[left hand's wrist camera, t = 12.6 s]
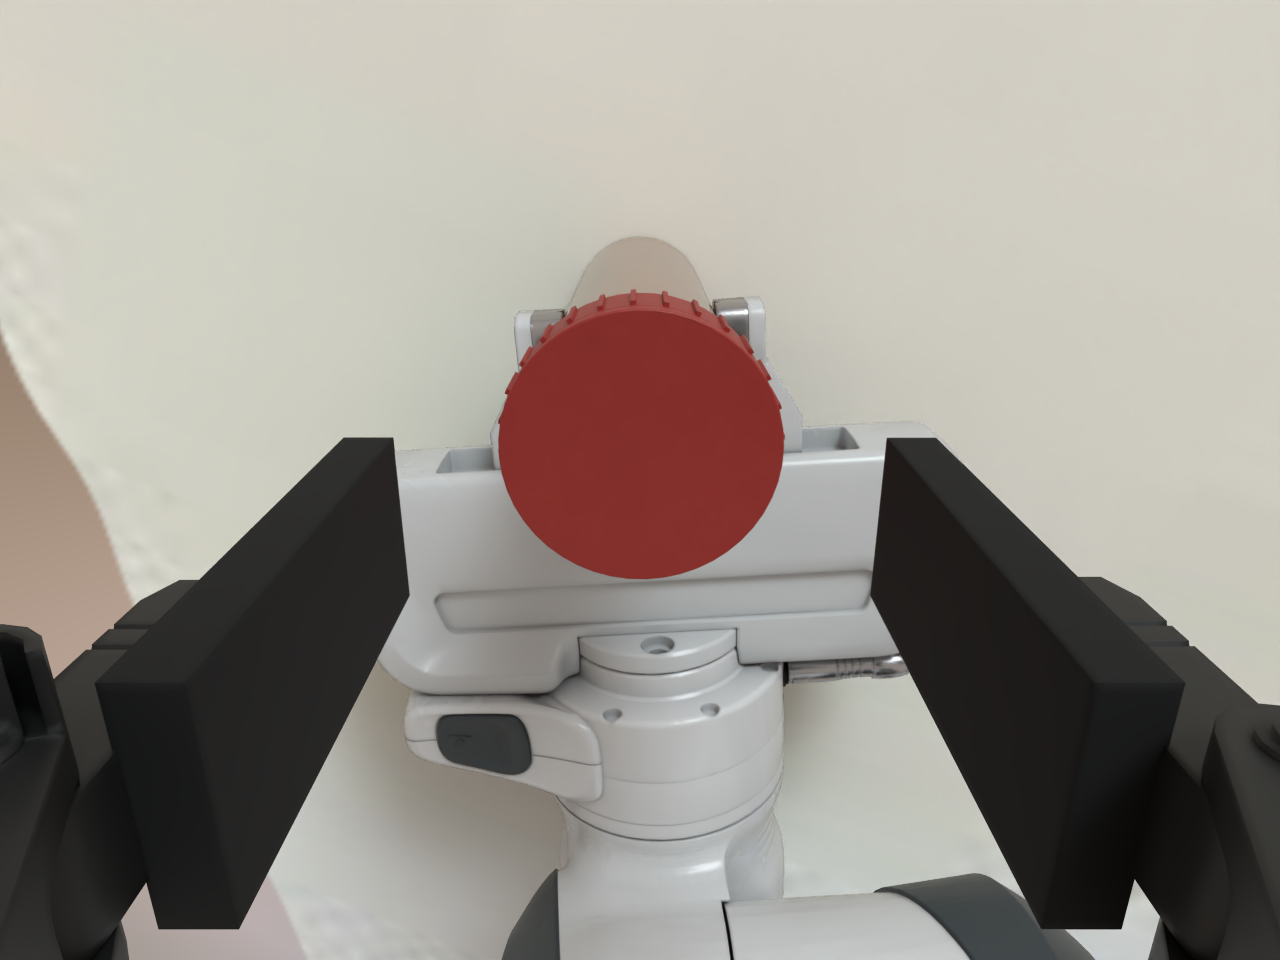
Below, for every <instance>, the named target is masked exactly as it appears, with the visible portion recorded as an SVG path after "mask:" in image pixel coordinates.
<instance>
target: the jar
mask: <svg viewBox="0 0 1280 960" xmlns="http://www.w3.org/2000/svg"><path fill="white" fill-rule="evenodd" d="M631 289H636V293H656V294H662V291H667V292H668V296H673V297H676V298H680V299H683V300H686V301H689V302H692V300H693V299H694V300H696V301H698V304H699V306H700V307H702V308H705V309H706V310H708V311H709V312H711V313H713V314H714V315H715V313H714V310H713V308H712V306H711V304H710V302H709V299H708V297H707V295H706V293H705V291H704V288H703V286H702V284H701V282H700V280H699V277H698V275H697V273H696V271H695V269H694V267H693V266H692V264H691V263H690V261H689V260H688V259H687V258H686V257H685V256H684V255H683V254H682V253H681V252H680V251H679V250H678V249H676V248H675V247H673V246H672V245H670V244H668V243H666V242H664V241H661V240H658V239H654V238H648V237H632V238H626V239H622V240H619V241H617V242H614V243H612V244H611V245H609V246H607V247H605V248H604V249H603V250H601V251H600V252H599V253H598V254H597V255H596V256H595V257H594V258H593V259H592V261H591V262H590V263H589V264H588V266H587V268H586V270H585V271H584V273H583V276H582V278H581V280H580V283H579V285H578V287H577V290H576V292H575V294H574V296H573V299H572V301H571V303H570V306H569V308H568V310H567V312H566V315H568V314H569V312H570V309H571V308H572V307H574V306H576V307H577V309H578V308H580V307H582V306H584V305H586V304H588V303H591V302H594V301H596V300H599V296H600V295H603V294H605V296H606V297H610V296H614V295H618V294H628V293H631ZM566 315H565V316H566Z"/></svg>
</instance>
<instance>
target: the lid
mask: <svg viewBox="0 0 1280 960" xmlns="http://www.w3.org/2000/svg"><path fill="white" fill-rule="evenodd" d="M753 353H754V351H753V349H752V347H751V345H750V344H749V342H748V340H747V338H746V337H745V336H744V335H742V336H741V337H740V336H739V335H738V334H737V333H736V332H735V331H734V330H733V329H732V328H731V327H730V326H729V325H728V323H727V321H726V319H725V317H724V316H723V315H721V314H720V315H719V316H718V317H717V316H716V315H714V314H713V313H711V312H709V311H708V310H706V309H705V308H702V307H700V306H699V304H698V301H696V300H694V299H693V300H692V302H689V301H686V300H683V299H680V298H676V297H673V296H668V292H667V291H662V294H656V293H636V289H631V293H628V294H618V295H614V296H610V297H606V296H605V294H603V295H600V296H599V300H596V301H594V302H591V303H588V304H586V305H584V306H582V307H580V308H578V309H577V307H576V306H574V307H572V308H571V309H570V312H569V314H568V315H566V316H565V317H564V318H562V319H561V320H559V321H558V322H557V323H555V324H554V325H553V326H552V325H551V324H549V325H547V327H546V328H545V330H544V332H543V334H542V336H541V338H540V340H539V341H538V342H537V344H536V345H535V346H534V347H533V348H532V347H531V346H529V348H528V349H527V351H526V353H525V354H524V356H523V358H522V360H521V362H520V363H519V366H521V367H522V368H521V370H520V372H519V373H516V372H515V374H514V376H513V378H512V380H511V381H510V383H509V385H508V387H507V389H506V391H505V394H507V395H508V396H507V399H506V401H505V404H504V408H503V411H502V413H501V415H500V417H499V419H498V424H500V427H499V436H498V454H499V461H500V467H501V473H502V477H503V480H504V483H505V486H506V489H507V492H508V494H509V496H510V498H511V501H512V503H513V505H514V507H515V508H516V510H517V512H518V513H519V515H520V516H521V518H522V519H523V521H524V522H525V523H526V525H527V526H528V527H529V528H530V529H531V531H532V532H533V533H534V534H535V535H536V536H537V537H538V538H539V539H540V540H541V541H542V542H543V543H544V544H546V545H547V546H548V547H549V548H550V549H552V550H553V551H555V552H556V553H557V554H559V555H560V556H562V557H563V558H565V559H567V560H569V561H571V562H572V563H574V564H576V565H578V566H580V567H583V568H585V569H588V570H590V571H593V572H596V573H600V574H604V575H607V576H611V577H618V578H625V579H656V578H665V577H670V576H674V575H679V574H683V573H686V572H689V571H692V570H695V569H697V568H700V567H702V566H704V565H706V564H708V563H710V562H712V561H714V560H715V559H717V558H719V557H720V556H722V555H723V554H725V553H726V552H728V551H729V550H730V549H732V548H733V547H734V546H735V545H736V544H738V543H739V542H740V541H741V540H742V539H743V538H744V537H745V536H746V535H747V534H748V533H749V532H750V531H751V530H752V529H753V528H754V526H755V525H756V524H757V522H758V521H759V519H760V518H761V517H762V515H763V514H764V512H765V510H766V509H767V507H768V505H769V503H770V501H771V499H772V497H773V495H774V492H775V490H776V487H777V484H778V482H779V478H780V473H781V469H782V465H783V455H784V440H785V434H784V431H783V424H782V419H781V413H780V409H782V407H781V404H780V402H779V400H778V398H777V396H776V395H775V393H774V391H773V389H772V387H771V386H770V384H769V382H768V381H769V380H771V377H770V375H769V373H768V371H767V370H766V368H765V366H764V364H763V363H762V361H761V359H759V360H758V361H757V360H756V358H755V356H754V355H753Z"/></svg>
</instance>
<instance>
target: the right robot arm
mask: <svg viewBox="0 0 1280 960" xmlns="http://www.w3.org/2000/svg"><path fill="white" fill-rule="evenodd" d="M712 308H713V310H714V313H715V315H716V316H717V317H718V316H719V315H720V314H721V315H723V316H724V317H725V319H726V321H727V323H728V325H729V326H730V327H731V328H732V329H733V330H734V331H735V332H736V333H737V334H738V335H739V336H740V337H741V336H742V335H744V336H745V337H746V338H747V340H748V342H749V344H750V345H751V347H752V349H753V351H754V353H753V355H754V356H755V358H756V360H757V361H758V360H759V359H761V361H762V363H763V364H764V366H765V368H766V370H767V371H768V373H769V375H770V377H771V380H769V381H768V382H769V384H770V386H771V387H772V389H773V391H774V393H775V395H776V396H777V398H778V400H779V402H780V404H781V407H782V409H780V413H781V419H782V424H783V431H784V434H785V440H784V455H783V465H782V469H781V473H780V478H779V482H778V484H777V487H776V490H775V492H774V495H773V497H772V499H771V501H770V503H769V505H768V507H767V509H766V510H765V512H764V514H763V515H762V517H761V518H760V519H759V521H758V522H757V524H756V525H755V526H754V528H753V529H752V530H751V531H750V532H749V533H748V534H747V535H746V536H745V537H744V538H743V539H742V540H741V541H740V542H739V543H738V544H736V545H735V546H734V547H733V548H732V549H730V550H729V551H728V552H726V553H725V554H723V555H722V556H720V557H719V558H717V559H715V560H714V561H712V562H710V563H708V564H706V565H704V566H702V567H700V568H697V569H695V570H692V571H689V572H686V573H683V574H679V575H674V576H670V577H665V578H656V579H625V578H618V577H611V576H607V575H604V574H600V573H596V572H593V571H590V570H588V569H585V568H583V567H580V566H578V565H576V564H574V563H572V562H571V561H569V560H567V559H565V558H563V557H562V556H560V555H559V554H557V553H556V552H555V551H553V550H552V549H550V548H549V547H548V546H547V545H546V544H544V543H543V542H542V541H541V540H540V539H539V538H538V537H537V536H536V535H535V534H534V533H533V532H532V531H531V529H530V528H529V527H528V526H527V525H526V523H525V522H524V521H523V519H522V518H521V516H520V515H519V513H518V512H517V510H516V508H515V507H514V505H513V503H512V501H511V498H510V496H509V494H508V492H507V489H506V486H505V483H504V480H503V477H502V473H501V467H500V461H499V454H498V436H499V427H500V424H498V419H499V417H500V415H501V413H502V411H503V408H504V404H505V402H504V404H503V406H502V408H501V411H500V413H499V415H498V417H497V419H496V422H495V424H494V426H493V428H492V430H491V433H490V437H491V445H485V446H468V447H451V448H434V449H418V450H400V451H395V459H396V468H397V478H398V487H399V497H400V506H401V516H402V525H403V535H404V544H405V554H406V563H407V573H408V582H409V592H410V596H409V598H408V600H407V602H406V604H405V606H404V608H403V610H402V612H401V614H400V616H399V618H398V620H397V622H396V624H395V626H394V628H393V629H392V631H391V633H390V635H389V637H388V639H387V641H386V643H385V645H384V647H383V649H382V651H381V653H380V655H379V657H378V659H377V662H378V663H379V664H380V666H381V667H382V668H383V669H384V671H385V672H386V673H387V674H388V675H389V676H390V677H392V678H393V679H394V680H395V681H397V682H398V683H400V684H401V685H403V686H405V687H407V688H409V689H411V690H410V693H409V697H408V701H407V706H406V711H405V716H404V734H405V740H406V743H407V746H408V748H409V750H410V751H411V752H412V753H413V754H414V755H415V756H416V757H418V758H420V759H422V760H425V761H427V762H431V763H435V764H439V765H444V766H449V767H454V768H459V769H463V770H468V771H473V772H477V773H482V774H486V775H490V776H495V777H499V778H503V779H507V780H510V781H514V782H518V783H521V784H525V785H528V786H531V787H534V788H538V789H541V790H543V791H546V792H549V793H552V794H554V795H555V798H556V800H557V802H558V804H559V807H560V809H561V811H562V814H563V817H564V821H565V826H564V830H563V834H562V838H561V843H560V852H559V854H560V870H557V869H555V870H554V871H553V872H552V873H551V874H550V875H549V876H548V877H547V879H546V880H545V881H544V882H543V883H542V885H541V886H540V887H539V889H538V890H537V892H536V893H535V895H534V896H533V898H532V899H531V901H530V903H529V904H528V906H527V907H526V909H525V911H524V912H523V914H522V916H521V917H520V919H519V920H518V922H517V924H516V925H515V927H514V929H513V930H512V932H511V934H510V936H509V939H508V942H507V945H506V948H505V950H504V954H503V957H502V960H1095V959H1094V958H1093V957H1092V955H1091V954H1090V953H1089V952H1088V951H1087V950H1086V949H1085V948H1084V947H1083V946H1082V945H1081V944H1080V943H1079V942H1078V941H1077V940H1076V939H1075V938H1073V937H1072V936H1071V935H1070V934H1069V933H1068V932H1067V931H1066V930H1065V929H1041V928H1040V926H1039V924H1038V922H1037V920H1036V918H1035V916H1034V914H1033V913H1032V911H1031V909H1030V907H1029V905H1028V903H1027V901H1026V900H1025V899H1024V898H1022V897H1021V896H1019V895H1018V894H1016V893H1015V892H1013V891H1011V890H1010V889H1008V888H1007V887H1005V886H1003V885H1002V884H1000V883H998V882H997V881H995V880H994V879H992V878H990V877H988V876H986V875H982V874H977V873H973V874H966V875H960V876H953V877H947V878H941V879H934V880H928V881H921V882H915V883H909V884H902V885H896V886H889V887H883V888H880V889H878V890H876V891H874V892H873V893H864V894H846V895H829V896H812V897H795V898H783V891H784V848H783V840H782V835H781V831H780V828H779V824H778V822H777V819H776V817H775V814H774V809H773V808H774V804H775V801H776V799H777V797H778V794H779V790H780V787H781V783H782V778H783V767H784V697H783V686H786V684H794V683H813V682H828V681H836V679H837V680H841V679H844V678H845V679H846V678H851V677H852V678H855V677H871V678H874V679H888V678H895V677H900V676H904V675H907V674H908V673H909V670H908V669H907V667H906V665H905V663H904V661H903V659H902V657H901V655H900V653H899V651H898V649H897V647H896V645H895V643H894V641H893V639H892V637H891V635H890V633H889V631H888V629H887V628H886V626H885V624H884V622H883V620H882V618H881V616H880V614H879V612H878V610H877V608H876V606H875V604H874V602H873V600H872V598H871V596H870V592H871V582H872V573H873V563H874V554H875V544H876V535H877V525H878V516H879V506H880V497H881V487H882V478H883V468H884V459H885V449H886V440H887V438H937V439H938V440H939V441H940V442H941V443H942V444H943V445H944V446H945V447H946V448H947V449H948V450H949V451H950V452H951V453H952V454H953V455H954V456H955V457H956V458H957V459H958V460H959V461H960V462H961V460H960V459H959V457H958V456H957V455H956V454H955V452H954V451H953V450H952V449H951V448H950V446H949V445H948V444H947V443H946V442H945V441H944V440H943V439H942V438H940V437H939V436H938V435H937V434H936V433H934V432H933V431H932V430H931V429H930V428H928V427H927V426H926V425H924V424H923V423H921V422H918V421H894V422H877V423H860V424H843V425H826V426H809V427H802V414H801V413H800V411H799V409H798V408H797V406H796V404H795V403H794V401H793V399H792V398H791V396H790V394H789V393H788V391H787V389H786V388H785V386H784V385H783V383H782V381H781V380H780V378H779V376H778V375H777V373H776V372H775V370H774V368H773V367H772V365H771V363H770V362H769V360H768V359H767V357H766V341H765V310H764V303H763V301H762V300H761V298H760V297H759V296H755V297H739V298H726V299H714V300H713V303H712ZM565 315H566V312H565V309H550V310H528V311H519V312H518V313H517V315H516V316H515V321H514V334H515V343H516V352H517V361H518V370H519V372H520V370H521V368H522V367H521V366H519V363H520V362H521V360H522V358H523V356H524V354H525V353H526V351H527V349H528V348H529V346H531V347H532V348H533V347H534V346H535V345H536V344H537V342H538V341H539V340H540V338H541V336H542V334H543V332H544V330H545V328H546V327H547V325H549V324H551V325H552V326H553V325H554V324H555V323H557V322H558V321H559V320H561V319H562V318H564V317H565ZM519 372H518V373H519ZM507 396H508V395H507ZM506 399H507V397H506ZM505 401H506V400H505ZM961 463H962V462H961ZM962 464H963V463H962Z"/></svg>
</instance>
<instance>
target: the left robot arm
mask: <svg viewBox="0 0 1280 960" xmlns="http://www.w3.org/2000/svg"><path fill="white" fill-rule="evenodd" d="M409 596H410V592H409V582H408V573H407V563H406V554H405V544H404V535H403V525H402V516H401V506H400V497H399V487H398V478H397V468H396V459H395V449H394V440H393V438H343V439H342V440H341V441H340V442H339V443H338V444H337V445H336V446H335V447H334V448H333V449H332V450H331V451H330V452H329V453H328V454H327V455H326V456H325V457H324V458H323V459H322V460H321V461H320V462H319V463H318V464H316V465H315V466H314V467H313V468H312V469H311V470H310V471H309V472H308V473H307V474H306V475H305V476H304V477H303V478H302V479H301V480H300V481H299V482H298V483H297V484H296V485H295V486H294V487H293V488H292V489H291V490H290V491H289V492H288V493H287V494H286V495H285V496H284V497H283V498H282V499H281V500H280V501H279V502H278V503H277V504H276V505H275V506H274V507H273V508H272V509H271V510H270V511H269V512H268V513H267V514H266V515H265V516H264V517H263V518H262V519H261V520H260V521H259V522H258V523H256V524H255V525H254V526H253V527H252V528H251V529H250V530H249V531H248V532H247V533H246V534H245V535H244V536H243V537H242V538H241V539H240V540H239V541H238V542H237V543H236V544H235V545H234V546H233V547H232V548H231V549H230V550H229V551H228V552H227V553H226V554H225V555H224V556H223V557H222V558H221V559H220V560H219V561H218V562H217V563H216V564H215V565H214V566H213V567H212V568H211V569H210V570H209V571H208V572H207V573H206V574H205V575H204V576H203V577H202V578H201V579H200V580H179V581H177V582H175V583H173V584H171V585H169V586H167V587H165V588H163V589H162V590H160V591H158V592H156V593H154V594H152V595H150V596H148V597H146V598H144V599H142V600H140V601H139V602H138V603H137V604H136V605H135V606H134V607H133V608H132V609H130V610H129V611H128V612H127V613H126V614H125V615H124V616H123V617H122V618H121V619H120V620H118V621H117V622H116V623H115V624H114V629H109V630H107V631H106V632H105V633H104V634H103V635H102V636H101V637H100V638H99V639H97V640H96V641H95V642H94V643H93V644H92V649H91V650H85V651H84V652H83V653H82V654H81V655H80V656H79V657H78V658H77V659H75V660H74V661H73V662H72V663H71V664H70V665H69V666H68V667H67V668H66V669H64V670H63V671H62V672H61V673H60V674H59V675H58V676H57V677H56V678H55V679H53V676H52V672H51V669H50V665H49V661H48V658H47V654H46V651H45V647H44V644H43V640H42V637H41V635H39V634H37V633H36V632H34V631H33V630H31V629H29V628H28V627H21V626H12V625H4V624H0V960H129V955H128V948H127V941H126V937H125V933H124V930H123V926H122V923H121V919H122V918H123V916H124V915H125V913H126V912H127V910H128V909H129V907H130V906H131V904H132V903H133V901H134V900H135V898H136V897H137V895H138V894H139V892H140V891H141V889H142V888H143V886H144V885H145V883H147V887H148V891H149V895H150V898H151V902H152V906H153V910H154V914H155V918H156V921H157V925H158V929H239V928H240V926H241V924H242V922H243V920H244V918H245V916H246V914H247V912H248V911H249V909H250V907H251V905H252V903H253V901H254V899H255V897H256V895H257V893H258V891H259V889H260V887H261V885H262V883H263V881H264V879H265V877H266V875H267V873H268V872H269V870H270V868H271V866H272V864H273V862H274V860H275V858H276V856H277V854H278V852H279V850H280V848H281V846H282V844H283V842H284V840H285V838H286V836H287V834H288V832H289V831H290V829H291V827H292V825H293V823H294V821H295V819H296V817H297V815H298V813H299V811H300V809H301V807H302V805H303V803H304V801H305V799H306V797H307V795H308V793H309V791H310V790H311V788H312V786H313V784H314V782H315V780H316V778H317V776H318V774H319V772H320V770H321V768H322V766H323V764H324V762H325V760H326V758H327V756H328V754H329V752H330V750H331V749H332V747H333V745H334V743H335V741H336V739H337V737H338V735H339V733H340V731H341V729H342V727H343V725H344V723H345V721H346V719H347V717H348V715H349V713H350V711H351V710H352V708H353V706H354V704H355V702H356V700H357V698H358V696H359V694H360V692H361V690H362V688H363V686H364V684H365V682H366V680H367V678H368V676H369V674H370V672H371V670H372V669H373V667H374V665H375V663H376V661H377V659H378V657H379V655H380V653H381V651H382V649H383V647H384V645H385V643H386V641H387V639H388V637H389V635H390V633H391V631H392V629H393V628H394V626H395V624H396V622H397V620H398V618H399V616H400V614H401V612H402V610H403V608H404V606H405V604H406V602H407V600H408V598H409ZM870 596H871V598H872V600H873V602H874V604H875V606H876V608H877V610H878V612H879V614H880V616H881V618H882V620H883V622H884V624H885V626H886V628H887V629H888V631H889V633H890V635H891V637H892V639H893V641H894V643H895V645H896V647H897V649H898V651H899V653H900V655H901V657H902V659H903V661H904V663H905V665H906V667H907V669H908V670H909V672H910V674H911V676H912V678H913V680H914V682H915V684H916V686H917V688H918V690H919V692H920V694H921V696H922V698H923V700H924V702H925V704H926V706H927V708H928V710H929V711H930V713H931V715H932V717H933V719H934V721H935V723H936V725H937V727H938V729H939V731H940V733H941V735H942V737H943V739H944V741H945V743H946V745H947V747H948V749H949V750H950V752H951V754H952V756H953V758H954V760H955V762H956V764H957V766H958V768H959V770H960V772H961V774H962V776H963V778H964V780H965V782H966V784H967V786H968V788H969V790H970V791H971V793H972V795H973V797H974V799H975V801H976V803H977V805H978V807H979V809H980V811H981V813H982V815H983V817H984V819H985V821H986V823H987V825H988V827H989V829H990V831H991V832H992V834H993V836H994V838H995V840H996V842H997V844H998V846H999V848H1000V850H1001V852H1002V854H1003V856H1004V858H1005V860H1006V862H1007V864H1008V866H1009V868H1010V870H1011V872H1012V873H1013V875H1014V877H1015V879H1016V881H1017V883H1018V885H1019V887H1020V889H1021V891H1022V893H1023V895H1024V897H1025V899H1026V901H1027V903H1028V905H1029V907H1030V909H1031V911H1032V913H1033V914H1034V916H1035V918H1036V920H1037V922H1038V924H1039V926H1040V928H1041V929H1122V925H1123V921H1124V918H1125V914H1126V910H1127V906H1128V902H1129V898H1130V894H1131V891H1132V887H1133V883H1134V879H1135V880H1136V882H1137V883H1138V885H1139V886H1140V888H1141V889H1142V891H1143V892H1144V893H1145V895H1146V896H1147V898H1148V899H1149V901H1150V902H1151V904H1152V905H1153V907H1154V908H1155V910H1156V911H1157V913H1158V914H1159V916H1160V919H1159V922H1158V926H1157V930H1156V933H1155V937H1154V940H1153V944H1152V948H1151V951H1150V955H1149V958H1148V960H1280V706H1278V705H1268V704H1258V703H1257V702H1256V701H1255V700H1254V699H1253V698H1251V697H1250V696H1249V695H1248V694H1247V693H1246V692H1245V691H1244V690H1243V689H1241V688H1240V687H1239V686H1238V685H1237V684H1236V683H1235V682H1234V681H1233V680H1231V679H1230V678H1229V677H1228V676H1227V675H1226V674H1225V673H1224V672H1223V671H1221V670H1220V669H1219V668H1218V667H1217V666H1216V665H1215V664H1214V663H1213V662H1212V661H1210V660H1209V659H1208V658H1207V657H1206V656H1205V655H1204V654H1203V653H1202V652H1200V651H1199V650H1198V649H1197V648H1196V647H1195V646H1189V641H1188V640H1187V639H1186V638H1185V637H1184V636H1183V635H1182V634H1180V633H1179V632H1178V631H1177V630H1176V629H1175V628H1174V627H1173V626H1167V621H1166V620H1165V619H1164V618H1163V617H1162V616H1160V615H1159V614H1158V613H1157V612H1156V611H1155V610H1154V609H1153V608H1152V607H1150V606H1149V605H1148V604H1147V603H1146V602H1145V601H1144V600H1143V599H1142V598H1140V597H1139V596H1137V595H1135V594H1133V593H1131V592H1129V591H1127V590H1125V589H1123V588H1121V587H1119V586H1117V585H1115V584H1113V583H1112V582H1110V581H1108V580H1106V579H1104V578H1102V577H1077V576H1076V575H1075V574H1074V573H1073V572H1072V571H1071V570H1070V569H1069V568H1068V567H1067V566H1066V565H1065V564H1064V563H1063V562H1062V561H1061V560H1060V559H1059V558H1058V557H1057V556H1056V555H1055V554H1054V553H1053V552H1052V551H1051V550H1050V549H1049V548H1048V547H1047V546H1046V545H1045V544H1044V543H1043V542H1042V541H1041V540H1040V539H1039V538H1038V537H1037V536H1036V535H1035V534H1034V533H1033V532H1032V531H1031V530H1030V529H1029V528H1028V527H1027V526H1026V525H1025V524H1024V523H1022V522H1021V521H1020V520H1019V519H1018V518H1017V517H1016V516H1015V515H1014V514H1013V513H1012V512H1011V511H1010V510H1009V509H1008V508H1007V507H1006V506H1005V505H1004V504H1003V503H1002V502H1001V501H1000V500H999V499H998V498H997V497H996V496H995V495H994V494H993V493H992V492H991V491H990V490H989V489H988V488H987V487H986V486H985V485H984V484H983V483H982V482H981V481H980V480H979V479H978V478H977V477H976V476H975V475H974V474H973V473H972V472H971V471H970V470H969V469H968V468H967V467H966V466H965V465H964V464H962V463H961V462H960V461H959V460H958V459H957V458H956V457H955V456H954V455H953V454H952V453H951V452H950V451H949V450H948V449H947V448H946V447H945V446H944V445H943V444H942V443H941V442H940V441H939V440H938V439H937V438H887V440H886V449H885V459H884V468H883V478H882V487H881V497H880V506H879V516H878V525H877V535H876V544H875V554H874V563H873V573H872V582H871V592H870Z"/></svg>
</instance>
